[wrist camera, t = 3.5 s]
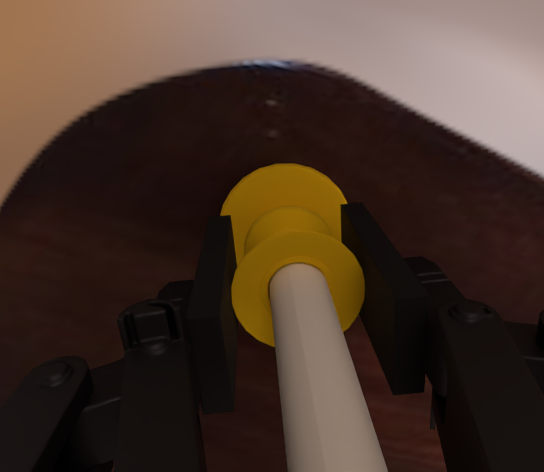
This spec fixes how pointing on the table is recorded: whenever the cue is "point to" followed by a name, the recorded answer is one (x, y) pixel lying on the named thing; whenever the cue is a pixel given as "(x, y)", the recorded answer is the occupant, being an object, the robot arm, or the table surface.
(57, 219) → the table surface
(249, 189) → the candle
